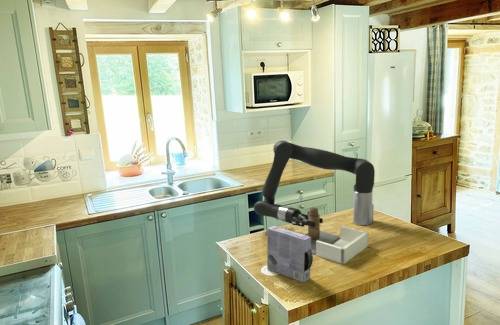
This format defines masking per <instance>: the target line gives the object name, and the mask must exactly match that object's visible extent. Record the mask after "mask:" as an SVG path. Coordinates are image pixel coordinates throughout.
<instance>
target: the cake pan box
mask: <svg viewBox="0 0 500 325" xmlns="http://www.w3.org/2000/svg"><path fill="white" fill-rule="evenodd" d="M266 230H267V233H266V234H267V241H266V242H267V243H266V244H267V248H266V249H267V254H266V255H267V268H266V269H267V270H270V271H273V272H276V273H277V274H280V275H282V276H284V277H287V278H291V279H294V280H296V281H298V282H300V283H303V284H304V283H306V282H307V281H309V280H310V279H311V268H312V266H313V262H314V261H313V260H314V257H313V256H314V255H313V254H312V251H311V237H309V236H306V234H302V233H298V232H296V231H292V230H290V229H289V230H288V229H287V228H282V227H279V226H276V225H273V226H270V227H267V229H266Z"/></svg>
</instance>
